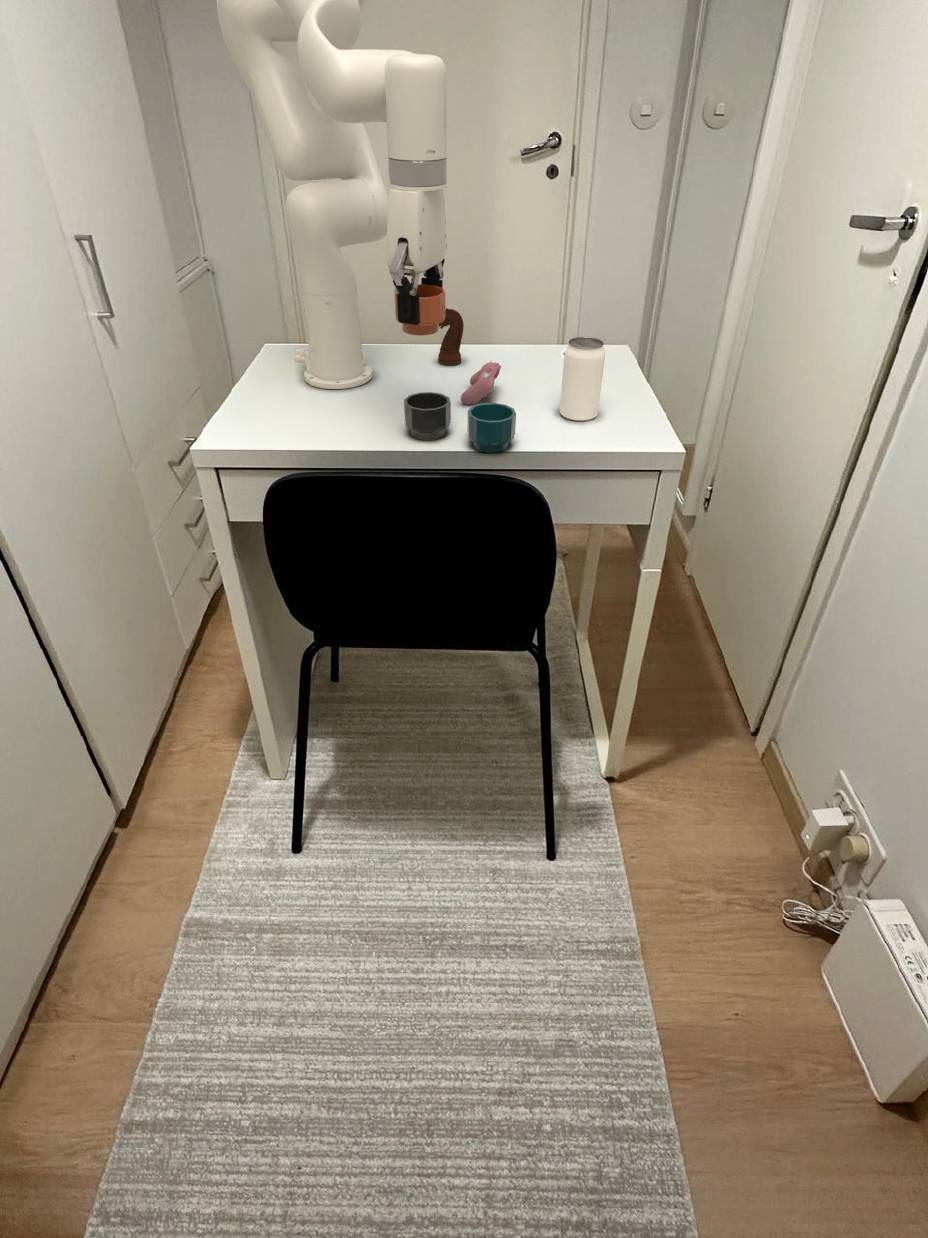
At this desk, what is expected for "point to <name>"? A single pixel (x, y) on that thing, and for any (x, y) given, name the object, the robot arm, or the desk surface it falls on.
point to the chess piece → (451, 339)
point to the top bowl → (491, 426)
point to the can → (582, 378)
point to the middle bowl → (426, 310)
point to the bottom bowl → (427, 415)
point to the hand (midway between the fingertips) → (420, 314)
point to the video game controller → (481, 383)
